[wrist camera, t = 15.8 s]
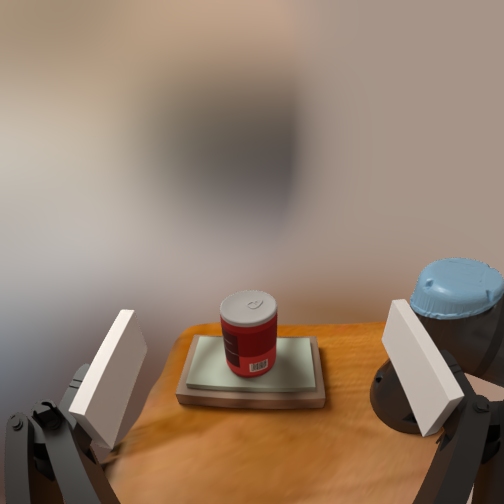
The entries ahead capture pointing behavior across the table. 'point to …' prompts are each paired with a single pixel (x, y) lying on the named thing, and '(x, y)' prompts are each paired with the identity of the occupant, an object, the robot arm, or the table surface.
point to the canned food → (249, 332)
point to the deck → (256, 388)
